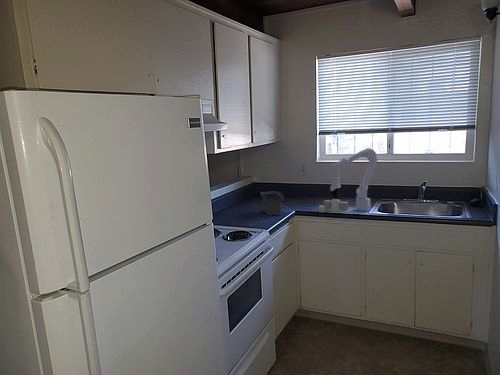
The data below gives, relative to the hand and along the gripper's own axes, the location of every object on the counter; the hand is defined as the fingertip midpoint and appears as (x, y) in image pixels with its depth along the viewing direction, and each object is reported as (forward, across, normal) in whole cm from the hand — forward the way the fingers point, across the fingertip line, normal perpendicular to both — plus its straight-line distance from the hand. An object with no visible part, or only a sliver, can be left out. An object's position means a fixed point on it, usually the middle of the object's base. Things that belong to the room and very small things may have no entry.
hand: (335, 198), depth 271 cm
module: (+7, 0, 0) cm, 7 cm away
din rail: (+8, 0, 0) cm, 8 cm away
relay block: (+8, +8, -7) cm, 14 cm away
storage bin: (+8, +26, -37) cm, 46 cm away
